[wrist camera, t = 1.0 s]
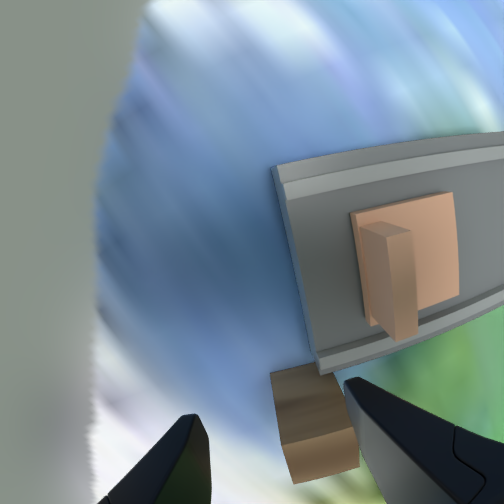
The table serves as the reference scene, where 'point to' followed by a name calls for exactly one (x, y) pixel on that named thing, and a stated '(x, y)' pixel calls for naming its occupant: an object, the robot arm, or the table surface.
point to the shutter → (406, 260)
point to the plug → (313, 423)
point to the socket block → (376, 194)
